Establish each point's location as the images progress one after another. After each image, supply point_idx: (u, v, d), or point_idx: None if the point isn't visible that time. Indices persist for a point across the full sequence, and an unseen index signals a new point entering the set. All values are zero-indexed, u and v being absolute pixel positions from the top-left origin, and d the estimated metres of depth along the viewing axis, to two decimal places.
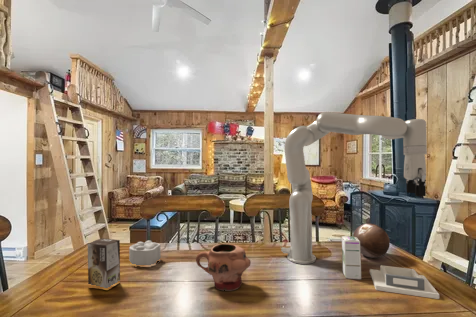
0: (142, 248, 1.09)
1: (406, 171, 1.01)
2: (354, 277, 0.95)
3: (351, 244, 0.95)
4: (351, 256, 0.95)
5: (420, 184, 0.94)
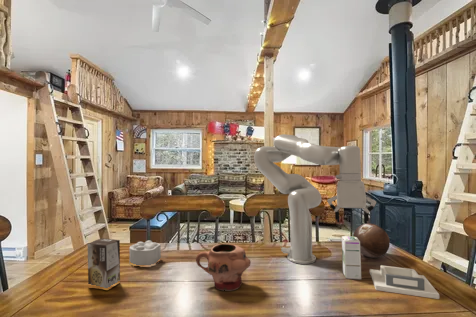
0: (142, 248, 1.09)
1: (349, 199, 0.95)
2: (354, 277, 0.95)
3: (351, 244, 0.95)
4: (351, 256, 0.95)
5: (369, 211, 0.95)
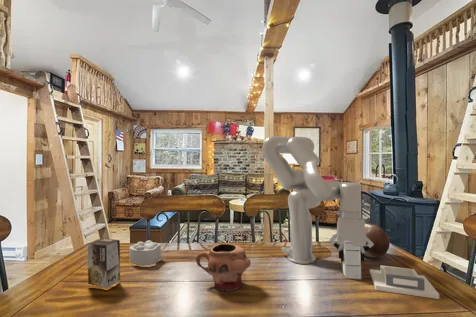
0: (142, 248, 1.09)
1: (349, 237, 0.95)
2: (354, 277, 0.95)
3: (351, 244, 0.95)
4: (351, 256, 0.95)
5: None
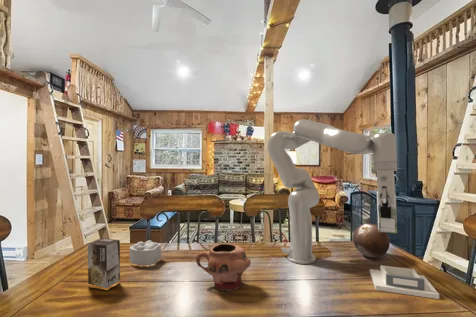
0: (142, 248, 1.09)
1: (394, 189, 0.90)
2: None
3: None
4: None
5: None
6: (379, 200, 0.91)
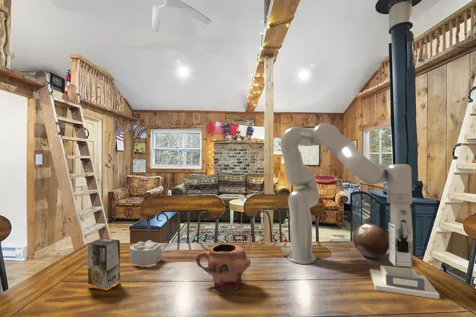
0: (142, 248, 1.09)
1: None
2: None
3: None
4: None
5: None
6: (396, 233, 0.88)
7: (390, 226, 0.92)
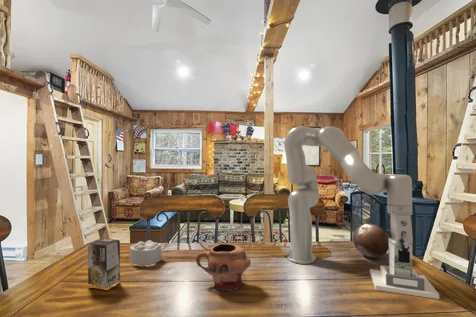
0: (143, 248, 1.09)
1: None
2: None
3: None
4: None
5: None
6: (395, 250, 0.88)
7: (390, 242, 0.92)
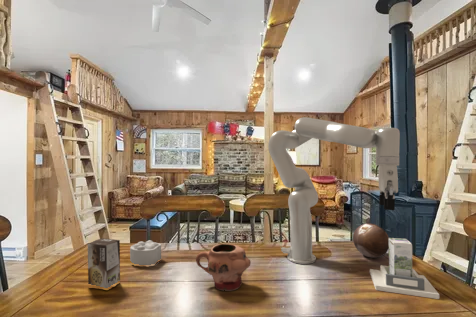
0: (143, 248, 1.09)
1: None
2: None
3: None
4: None
5: None
6: (395, 250, 0.88)
7: (390, 242, 0.92)
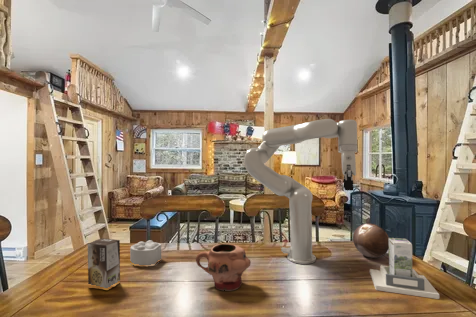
0: (143, 248, 1.09)
1: None
2: None
3: None
4: None
5: None
6: (395, 250, 0.88)
7: (390, 242, 0.92)
